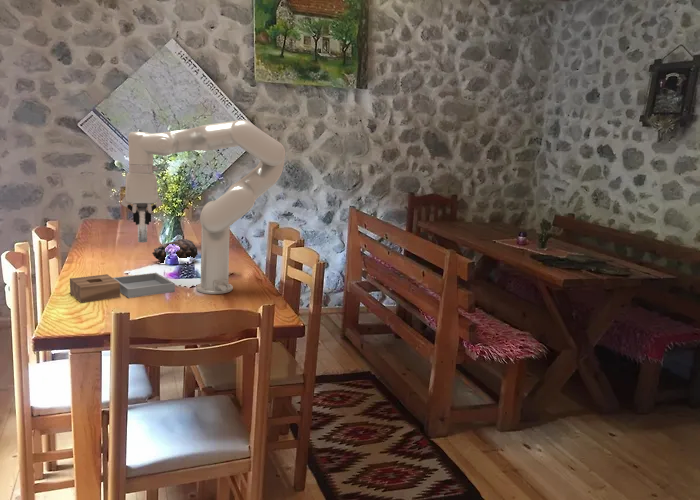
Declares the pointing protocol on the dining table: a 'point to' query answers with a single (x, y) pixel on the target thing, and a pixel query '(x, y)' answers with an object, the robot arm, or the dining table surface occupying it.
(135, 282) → the grey tray
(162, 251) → the pine cone
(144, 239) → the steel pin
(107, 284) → the walnut block
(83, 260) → the dining table surface
